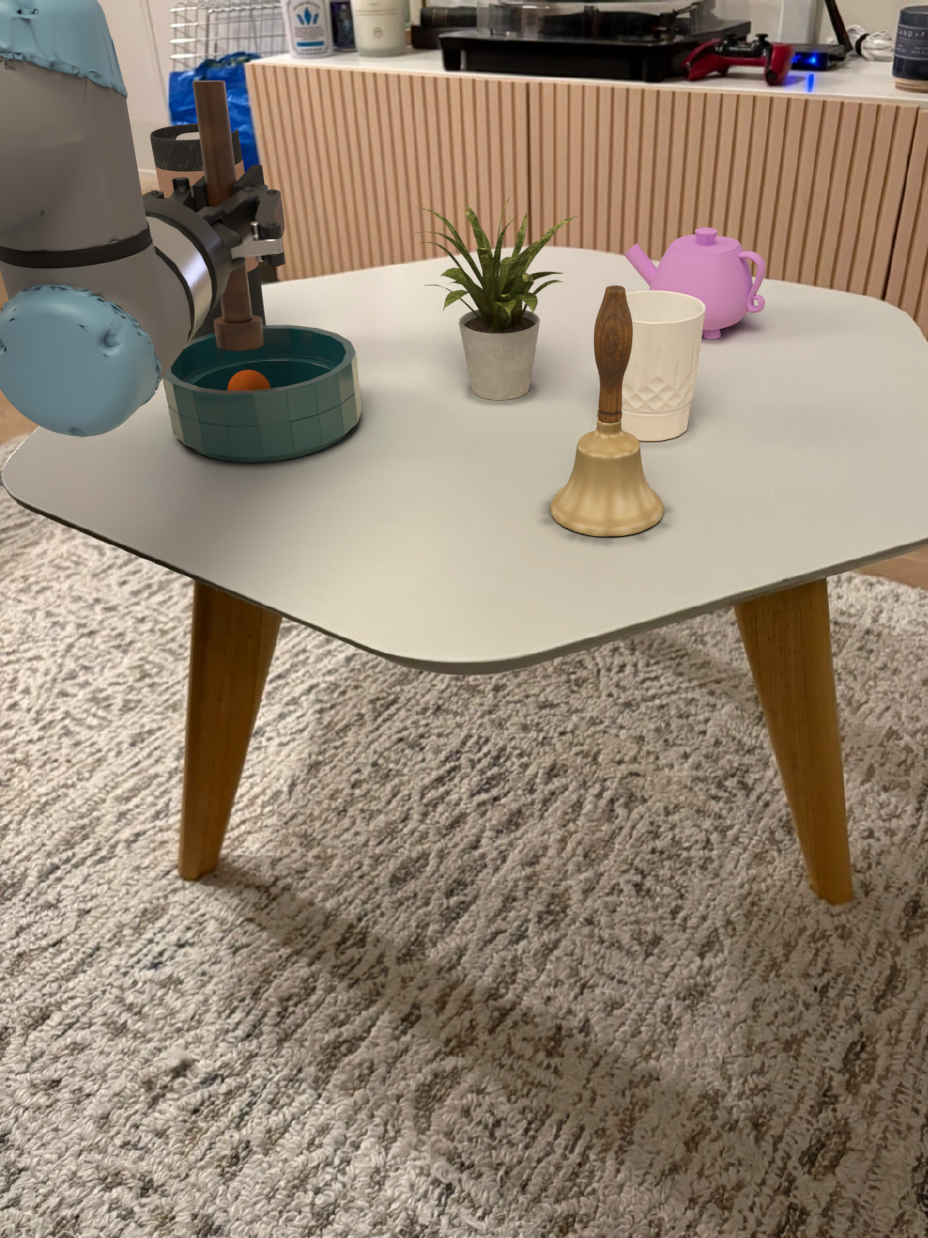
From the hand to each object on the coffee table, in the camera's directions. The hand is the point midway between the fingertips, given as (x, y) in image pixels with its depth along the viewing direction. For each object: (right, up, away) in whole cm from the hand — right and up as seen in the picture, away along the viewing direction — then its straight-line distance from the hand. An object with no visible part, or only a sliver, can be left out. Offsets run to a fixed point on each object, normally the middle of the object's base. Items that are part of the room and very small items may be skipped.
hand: (240, 183), depth 84 cm
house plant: (+19, -12, +15) cm, 27 cm away
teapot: (+39, -2, +28) cm, 48 cm away
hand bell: (+28, -26, -4) cm, 38 cm away
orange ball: (-1, -14, +8) cm, 16 cm away
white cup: (+32, -17, +8) cm, 37 cm away
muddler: (0, -12, +1) cm, 12 cm away
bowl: (0, -17, +9) cm, 19 cm away
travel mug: (-6, -7, +22) cm, 24 cm away
